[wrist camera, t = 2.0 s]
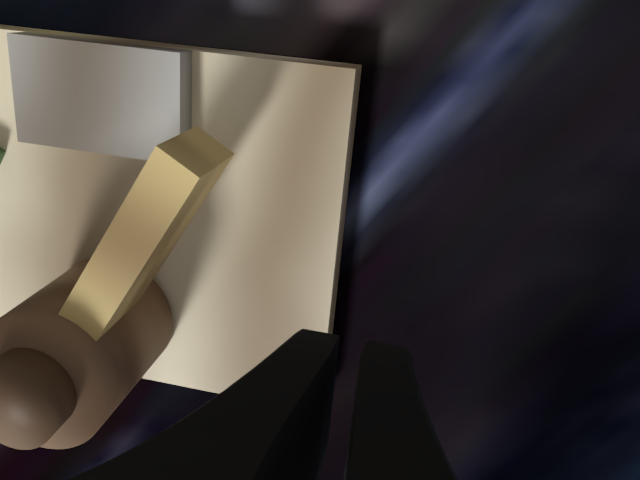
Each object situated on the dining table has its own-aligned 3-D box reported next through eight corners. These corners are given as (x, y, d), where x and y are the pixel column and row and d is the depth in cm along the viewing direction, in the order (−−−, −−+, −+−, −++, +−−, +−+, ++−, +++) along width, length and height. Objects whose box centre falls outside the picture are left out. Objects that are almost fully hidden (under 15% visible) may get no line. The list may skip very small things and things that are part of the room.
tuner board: (362, 64, 17) (351, 72, 15) (326, 392, 21) (313, 429, 19) (-137, 9, 19) (-199, 9, 17) (-81, 312, 23) (-126, 338, 22)
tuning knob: (138, 386, 21) (45, 500, 16) (41, 318, 21) (-82, 412, 16) (289, 174, 17) (225, 240, 12) (172, 87, 17) (61, 120, 12)
